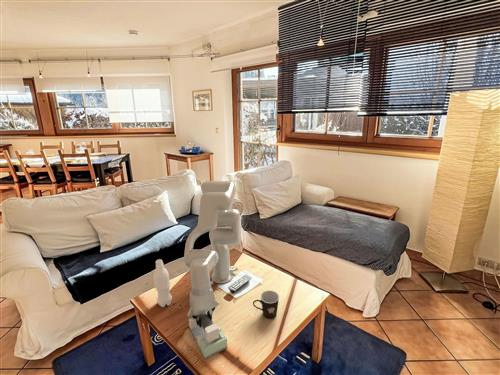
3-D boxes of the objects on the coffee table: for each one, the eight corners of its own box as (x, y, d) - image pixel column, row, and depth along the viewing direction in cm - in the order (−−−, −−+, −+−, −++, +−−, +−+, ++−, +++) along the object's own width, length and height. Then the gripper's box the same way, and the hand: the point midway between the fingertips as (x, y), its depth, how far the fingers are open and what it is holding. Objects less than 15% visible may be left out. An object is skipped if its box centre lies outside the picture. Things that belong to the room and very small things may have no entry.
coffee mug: (280, 309, 131) (280, 292, 128) (276, 322, 123) (276, 305, 120) (257, 304, 135) (257, 287, 131) (252, 316, 127) (252, 299, 124)
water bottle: (159, 310, 132) (152, 267, 124) (156, 301, 138) (150, 259, 130) (173, 305, 135) (168, 262, 127) (170, 296, 141) (165, 255, 134)
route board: (208, 316, 128) (208, 307, 126) (227, 347, 111) (226, 338, 110) (188, 325, 123) (187, 316, 121) (204, 359, 106) (203, 349, 105)
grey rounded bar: (192, 312, 123) (191, 304, 121) (202, 308, 125) (201, 299, 123) (208, 342, 107) (207, 333, 106) (219, 337, 109) (218, 327, 108)
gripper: (216, 276, 118) (218, 309, 123) (178, 289, 110) (183, 325, 115) (223, 285, 112) (225, 320, 117) (184, 300, 104) (188, 337, 109)
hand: (204, 322), depth 116 cm, fingers closed on grey rounded bar, 4 cm apart
